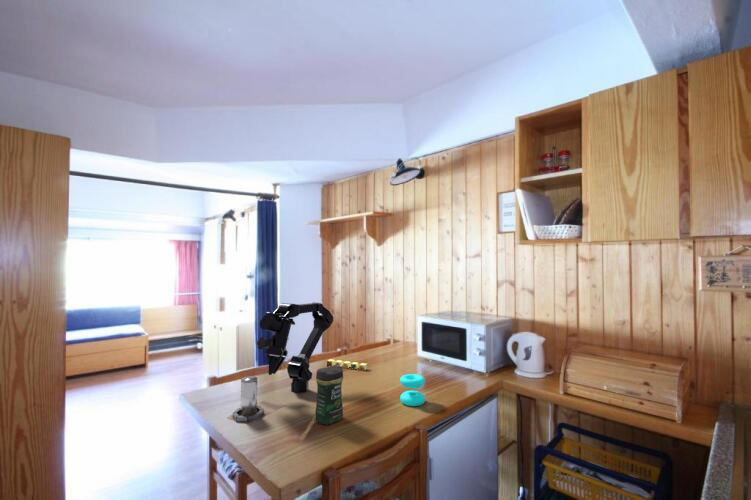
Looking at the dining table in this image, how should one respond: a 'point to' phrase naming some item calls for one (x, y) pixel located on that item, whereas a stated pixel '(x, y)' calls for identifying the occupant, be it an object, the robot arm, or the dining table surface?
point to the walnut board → (265, 409)
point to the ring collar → (246, 418)
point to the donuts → (412, 396)
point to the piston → (248, 396)
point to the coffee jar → (329, 395)
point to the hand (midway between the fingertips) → (271, 374)
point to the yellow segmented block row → (347, 364)
